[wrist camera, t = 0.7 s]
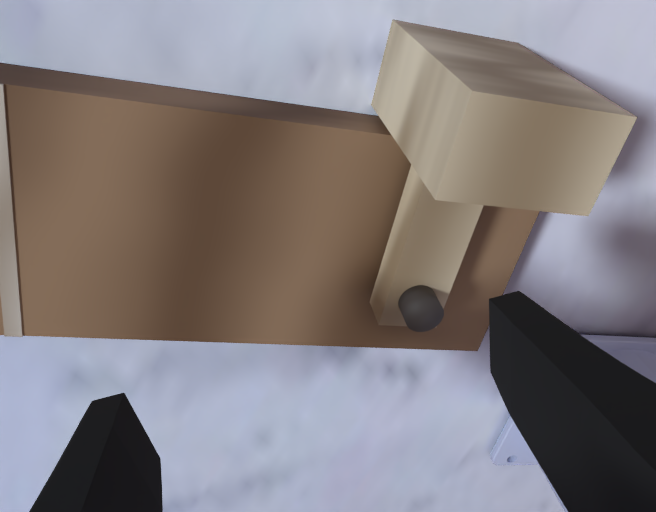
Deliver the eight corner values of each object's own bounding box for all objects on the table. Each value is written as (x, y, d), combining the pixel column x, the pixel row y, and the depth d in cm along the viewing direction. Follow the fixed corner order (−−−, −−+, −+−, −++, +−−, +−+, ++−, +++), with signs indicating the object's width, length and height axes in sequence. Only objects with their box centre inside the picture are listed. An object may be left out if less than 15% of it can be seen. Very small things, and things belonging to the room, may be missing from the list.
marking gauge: (517, 42, 18) (637, 117, 13) (433, 274, 23) (500, 394, 18) (392, 19, 17) (472, 91, 12) (330, 267, 21) (370, 391, 17)
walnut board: (540, 138, 20) (564, 158, 19) (463, 325, 24) (478, 351, 23) (-174, 38, 15) (-208, 56, 14) (-116, 298, 19) (-138, 331, 18)
